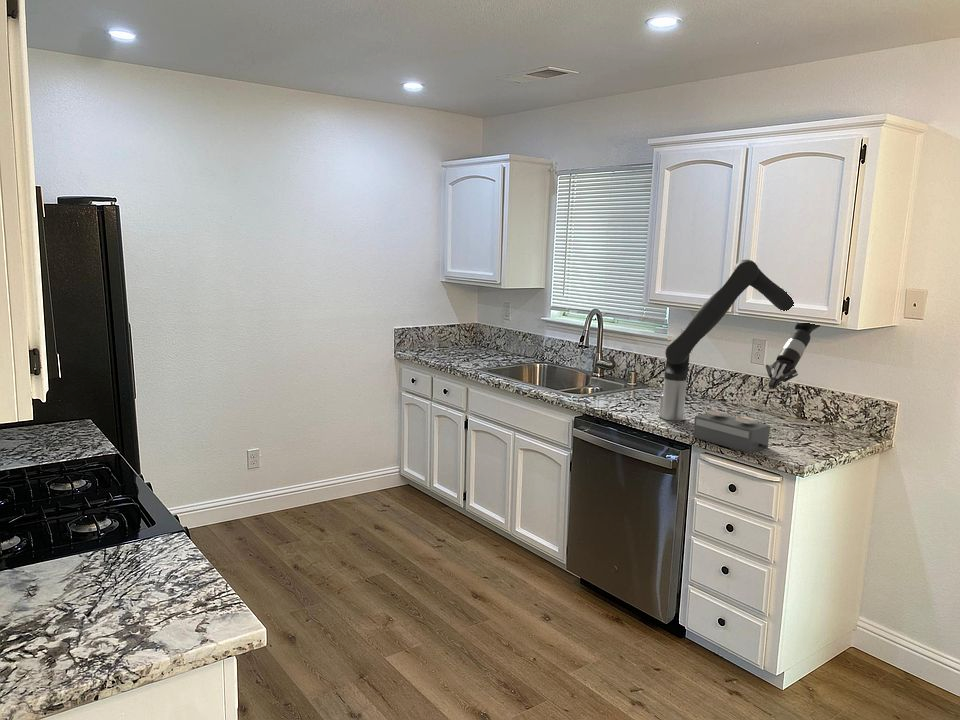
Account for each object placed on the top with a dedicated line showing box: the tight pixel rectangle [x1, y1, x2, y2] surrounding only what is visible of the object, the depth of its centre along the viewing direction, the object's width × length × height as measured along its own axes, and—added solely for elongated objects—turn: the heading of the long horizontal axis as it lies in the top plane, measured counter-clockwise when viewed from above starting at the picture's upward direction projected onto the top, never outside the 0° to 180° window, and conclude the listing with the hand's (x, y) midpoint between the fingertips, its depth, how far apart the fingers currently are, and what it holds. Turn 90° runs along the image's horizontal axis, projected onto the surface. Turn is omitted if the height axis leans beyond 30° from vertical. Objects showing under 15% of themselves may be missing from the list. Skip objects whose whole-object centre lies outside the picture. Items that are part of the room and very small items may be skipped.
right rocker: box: [735, 416, 759, 424], centre depth 264 cm, size 5×7×1 cm
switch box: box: [692, 412, 771, 454], centre depth 269 cm, size 27×12×8 cm, turn 39°
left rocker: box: [706, 409, 730, 417], centre depth 274 cm, size 5×7×1 cm
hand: (771, 387), depth 272 cm, fingers closed
